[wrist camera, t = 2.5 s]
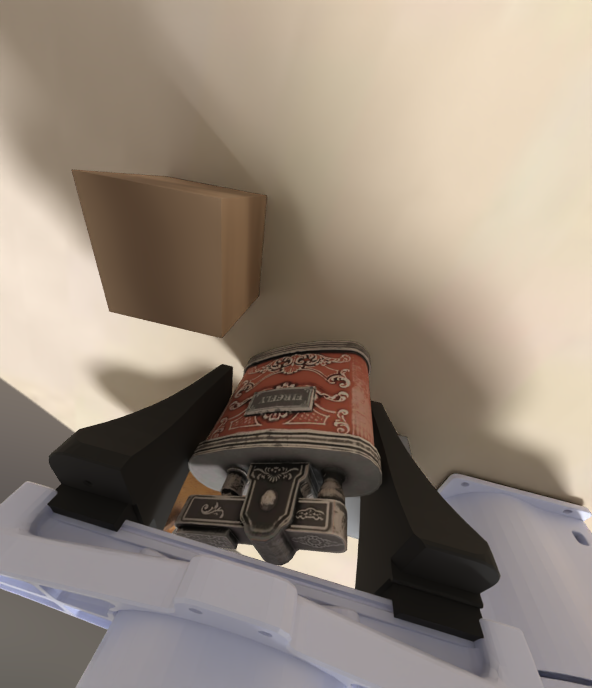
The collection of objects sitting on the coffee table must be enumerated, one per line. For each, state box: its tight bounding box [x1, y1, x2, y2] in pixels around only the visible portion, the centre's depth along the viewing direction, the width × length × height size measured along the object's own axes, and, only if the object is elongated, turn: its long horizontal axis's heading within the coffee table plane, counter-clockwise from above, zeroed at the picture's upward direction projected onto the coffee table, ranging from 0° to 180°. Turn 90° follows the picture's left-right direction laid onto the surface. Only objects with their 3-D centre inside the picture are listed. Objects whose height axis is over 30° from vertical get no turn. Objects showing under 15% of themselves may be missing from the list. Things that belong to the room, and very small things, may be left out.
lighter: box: [174, 341, 382, 565], centre depth 12 cm, size 8×3×10 cm, turn 107°
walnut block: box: [72, 170, 267, 338], centre depth 11 cm, size 5×5×5 cm
